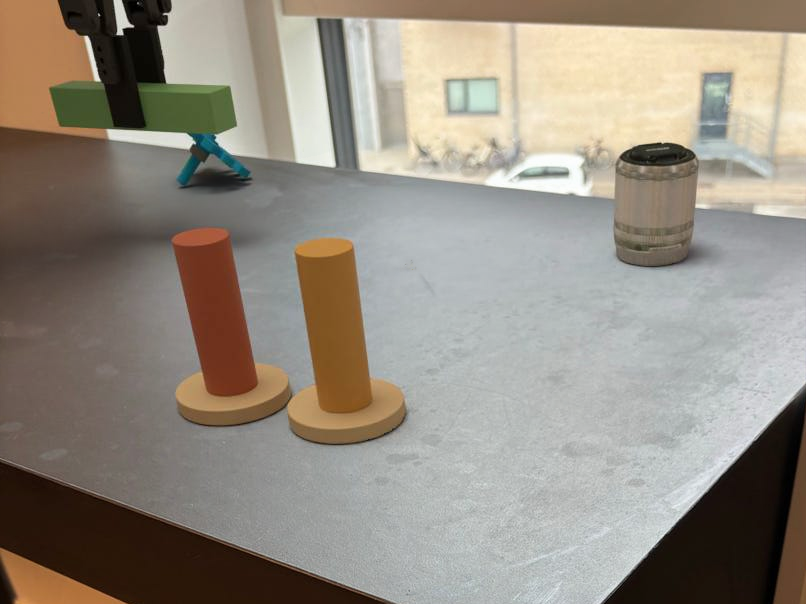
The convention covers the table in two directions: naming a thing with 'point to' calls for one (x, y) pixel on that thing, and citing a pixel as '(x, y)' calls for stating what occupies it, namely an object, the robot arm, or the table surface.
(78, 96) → the green bar
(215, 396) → the terracotta rod
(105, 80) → the robot arm
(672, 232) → the camera lens
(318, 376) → the ochre rod
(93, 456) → the table surface
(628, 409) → the table surface
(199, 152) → the teal blocky crossed piece
